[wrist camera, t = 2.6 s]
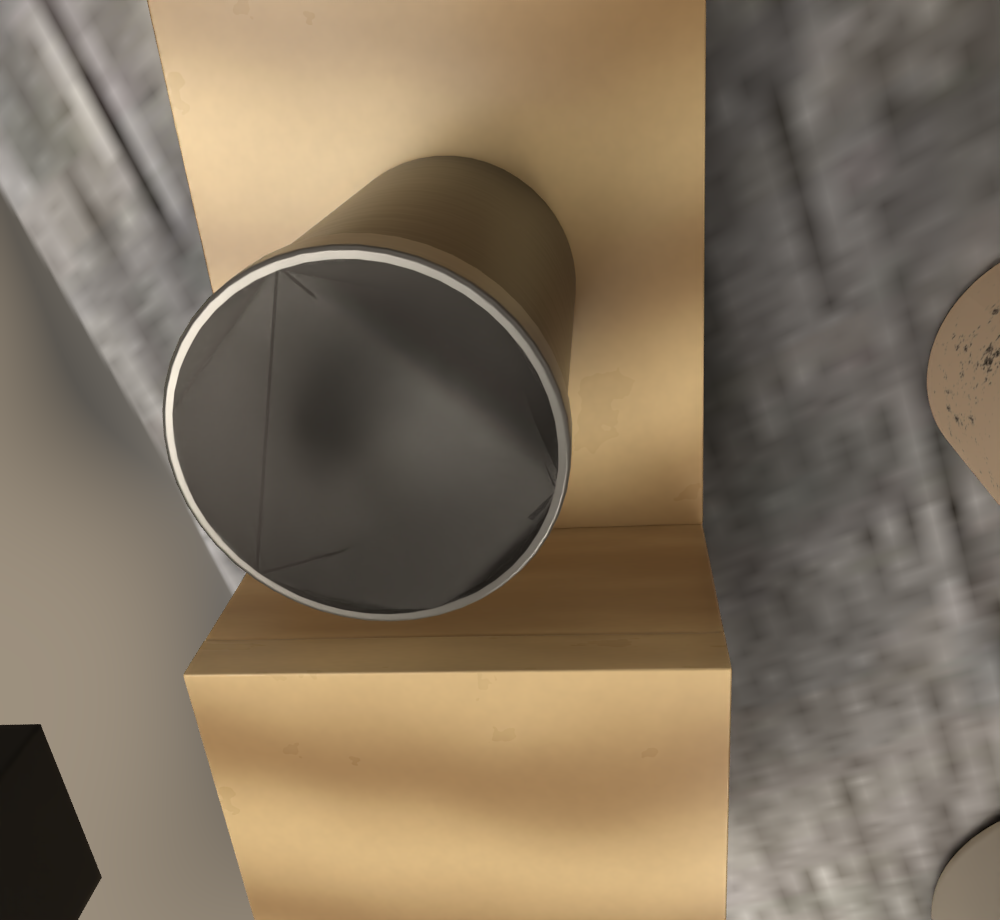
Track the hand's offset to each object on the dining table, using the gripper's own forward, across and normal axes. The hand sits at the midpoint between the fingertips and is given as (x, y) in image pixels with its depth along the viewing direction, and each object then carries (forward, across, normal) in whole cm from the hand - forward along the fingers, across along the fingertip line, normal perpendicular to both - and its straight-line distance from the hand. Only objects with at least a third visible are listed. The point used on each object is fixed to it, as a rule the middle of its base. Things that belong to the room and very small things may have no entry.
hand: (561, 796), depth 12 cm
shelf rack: (+23, -4, -7) cm, 24 cm away
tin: (+17, -3, +2) cm, 17 cm away
